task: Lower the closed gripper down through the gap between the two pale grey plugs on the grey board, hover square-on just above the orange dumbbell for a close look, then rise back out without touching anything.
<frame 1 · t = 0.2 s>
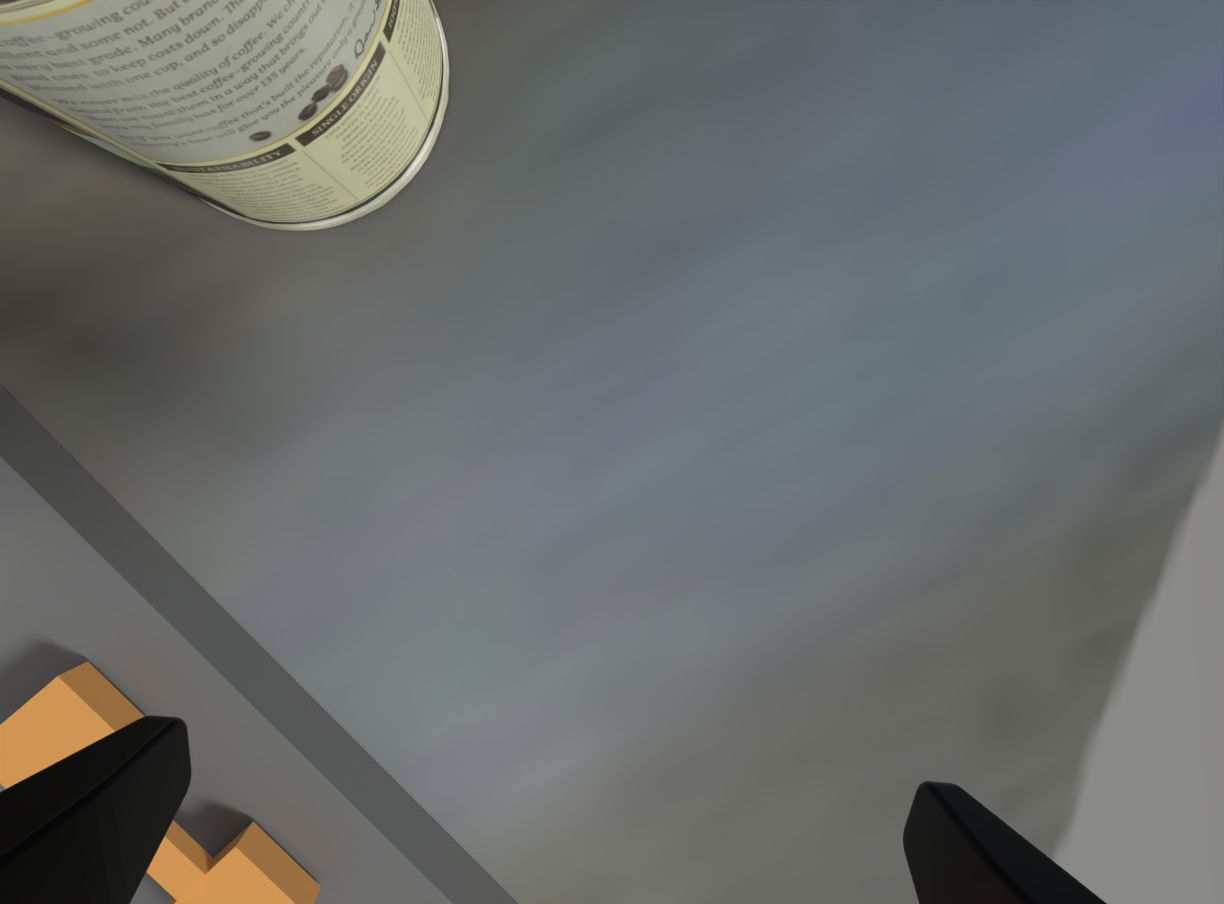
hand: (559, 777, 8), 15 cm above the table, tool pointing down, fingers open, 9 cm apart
orange dumbbell: (154, 825, 20), point 4 cm above the table, hinge at 8.0°
grey board: (216, 762, 24), on the table
coffee can: (295, 76, 22), on the table
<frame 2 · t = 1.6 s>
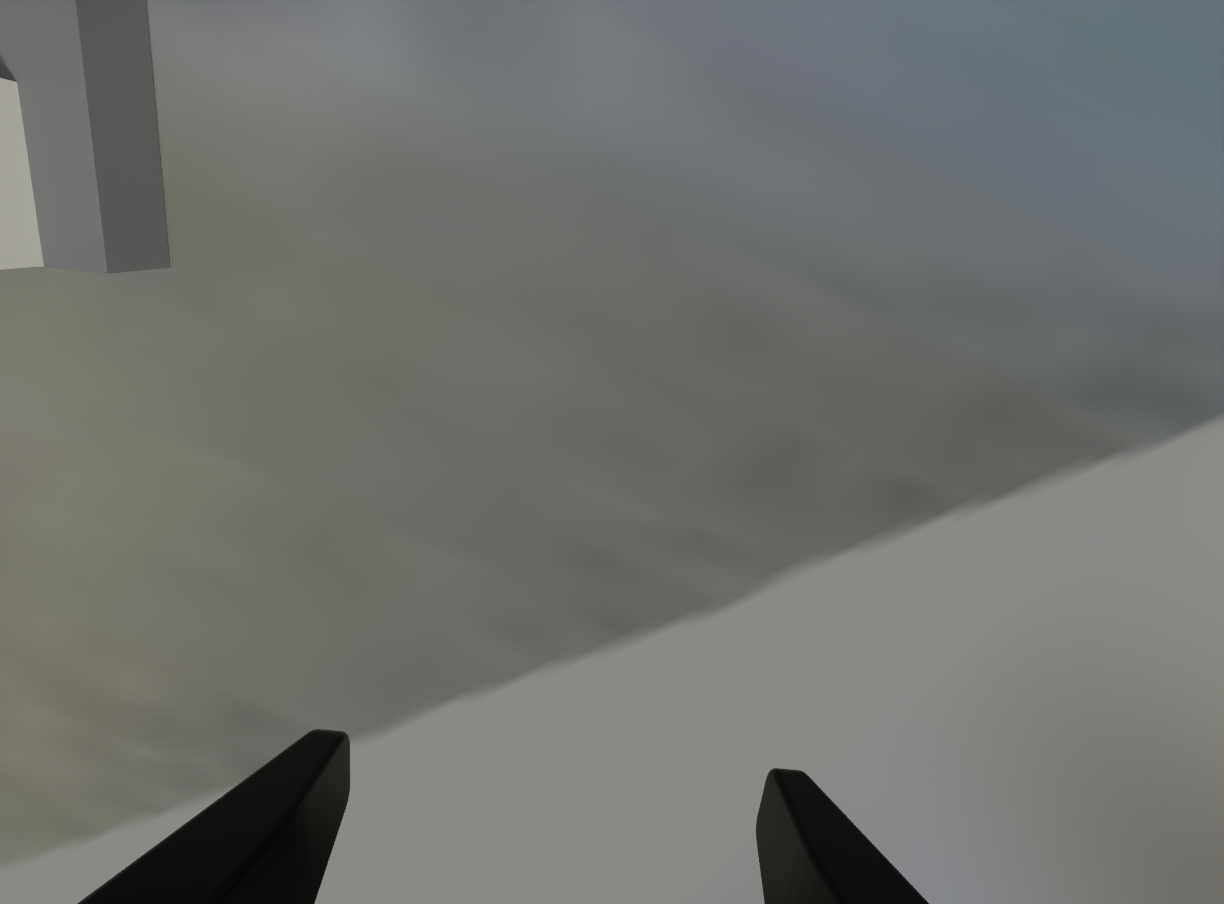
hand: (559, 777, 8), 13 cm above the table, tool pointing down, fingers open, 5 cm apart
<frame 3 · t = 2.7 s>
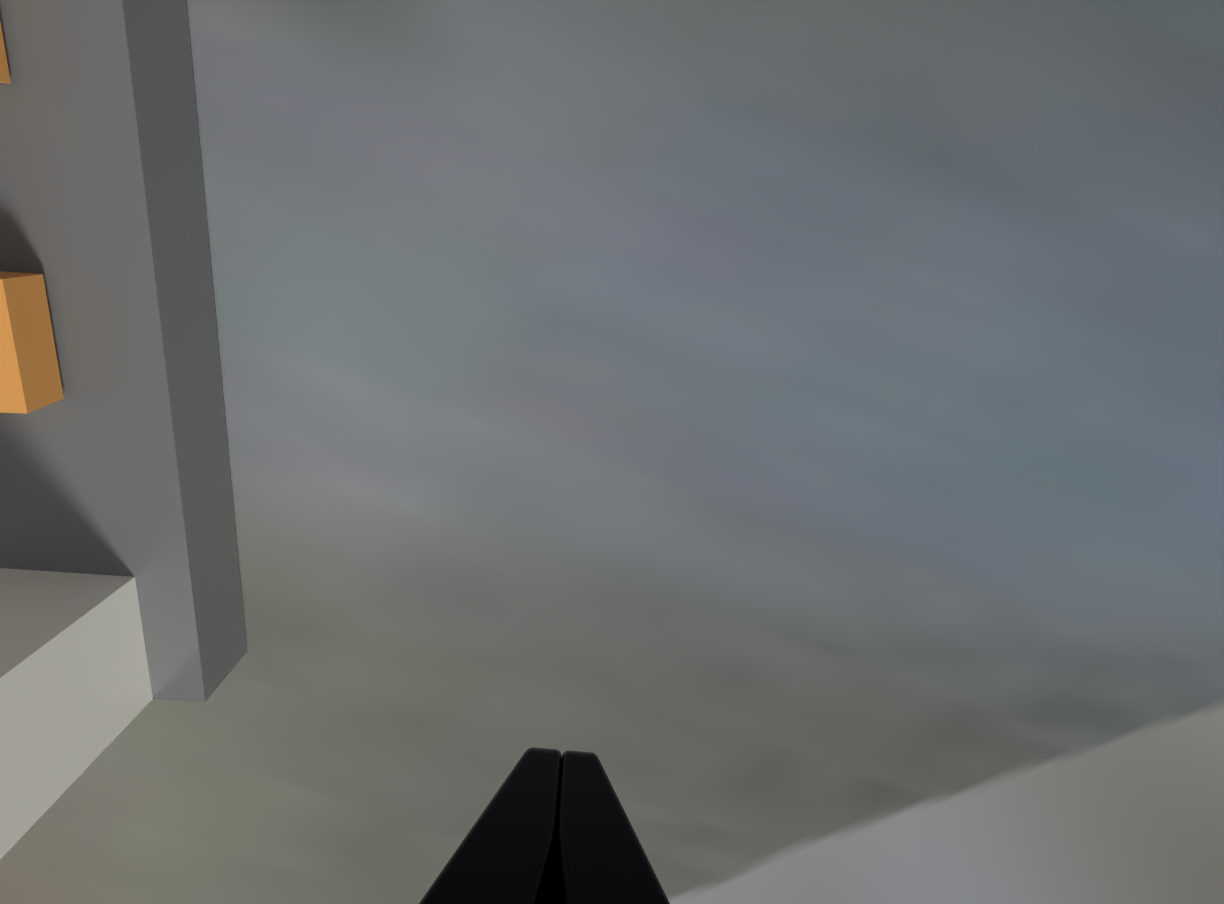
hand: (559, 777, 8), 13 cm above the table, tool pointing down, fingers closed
grey board: (48, 184, 18), on the table
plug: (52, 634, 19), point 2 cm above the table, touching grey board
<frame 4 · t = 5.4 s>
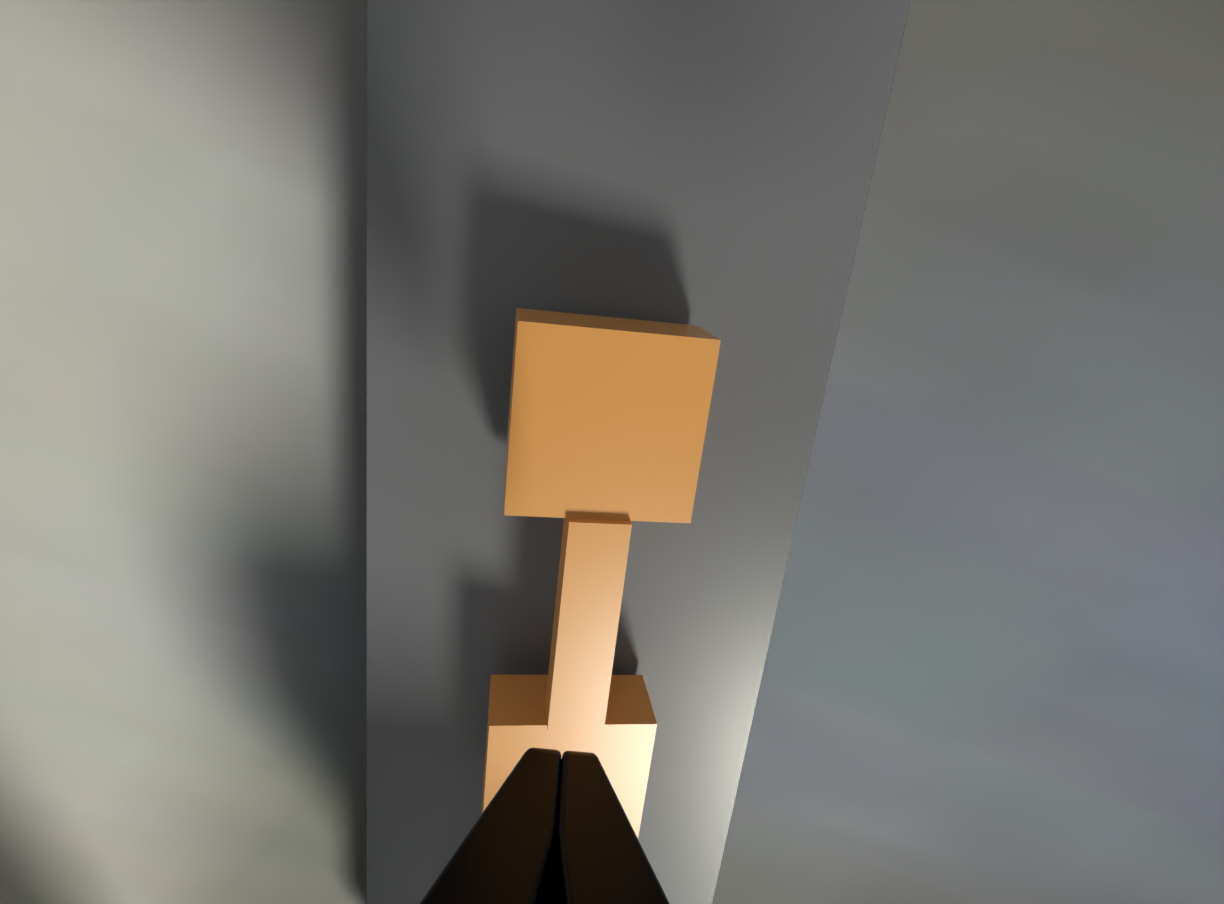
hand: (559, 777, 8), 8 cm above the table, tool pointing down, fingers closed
orange dumbbell: (582, 607, 12), point 4 cm above the table, hinge at 8.0°
grey board: (580, 520, 15), on the table
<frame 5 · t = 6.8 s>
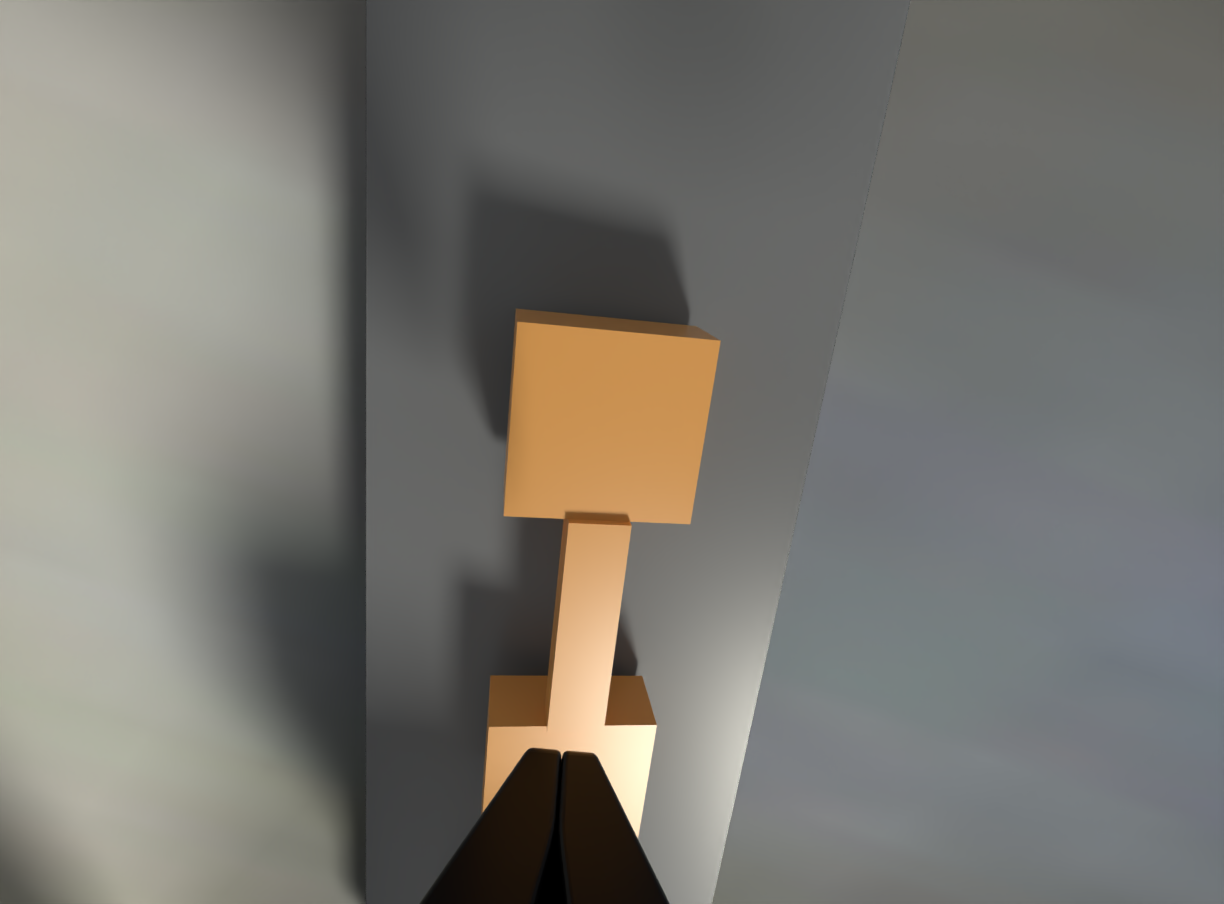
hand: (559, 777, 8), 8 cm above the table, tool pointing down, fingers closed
orange dumbbell: (582, 608, 12), point 4 cm above the table, hinge at 8.0°
grey board: (580, 521, 15), on the table
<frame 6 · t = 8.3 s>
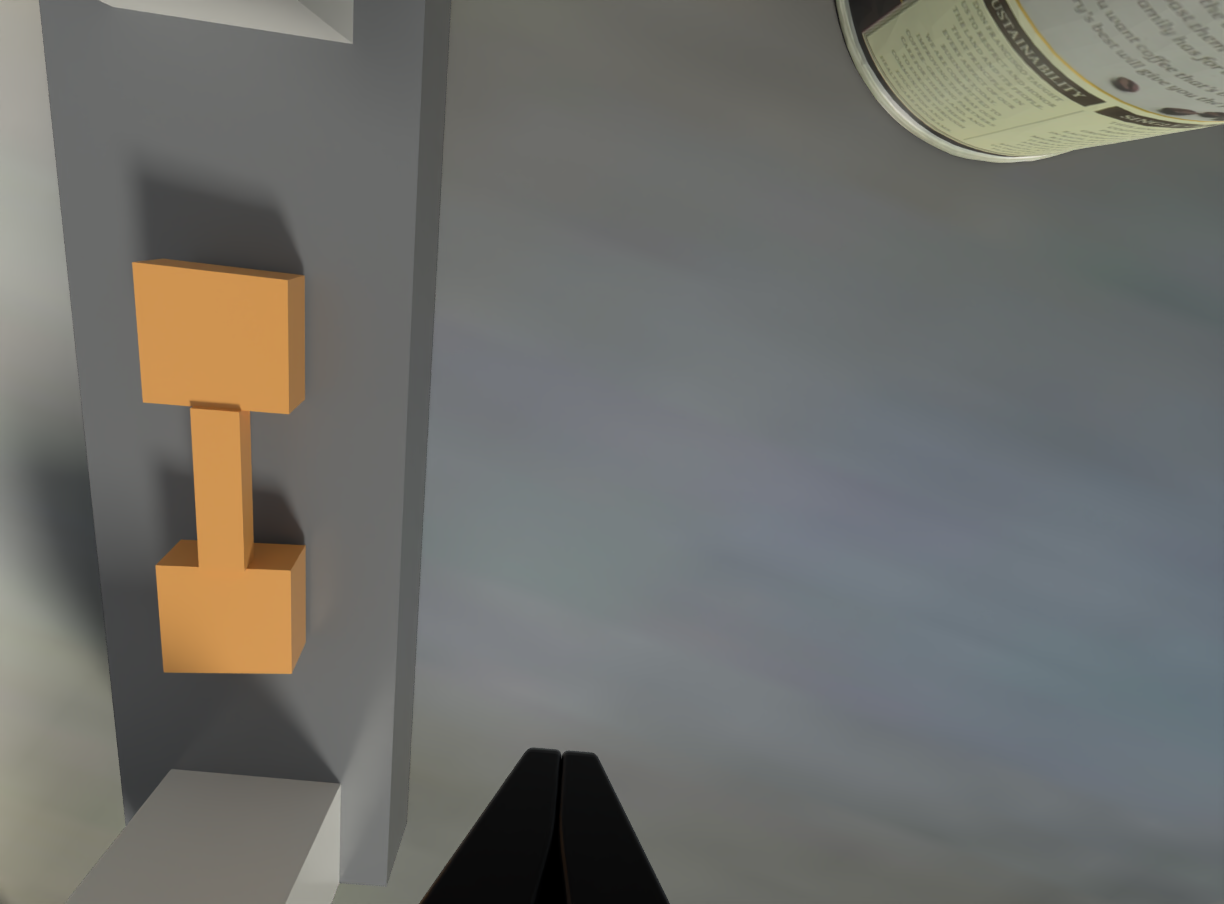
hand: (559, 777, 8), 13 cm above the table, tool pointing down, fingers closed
orange dumbbell: (230, 481, 16), point 4 cm above the table, hinge at 8.0°
grey board: (289, 437, 20), on the table
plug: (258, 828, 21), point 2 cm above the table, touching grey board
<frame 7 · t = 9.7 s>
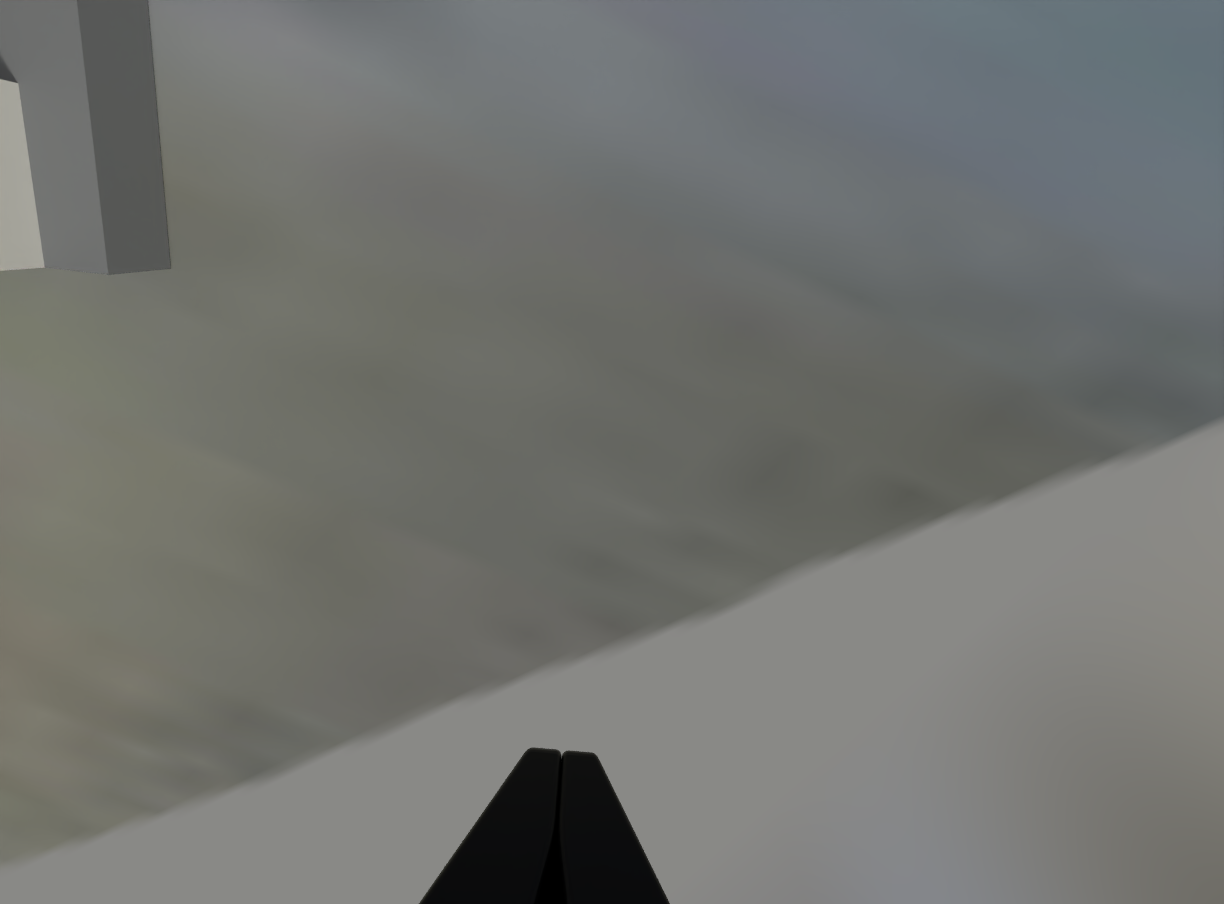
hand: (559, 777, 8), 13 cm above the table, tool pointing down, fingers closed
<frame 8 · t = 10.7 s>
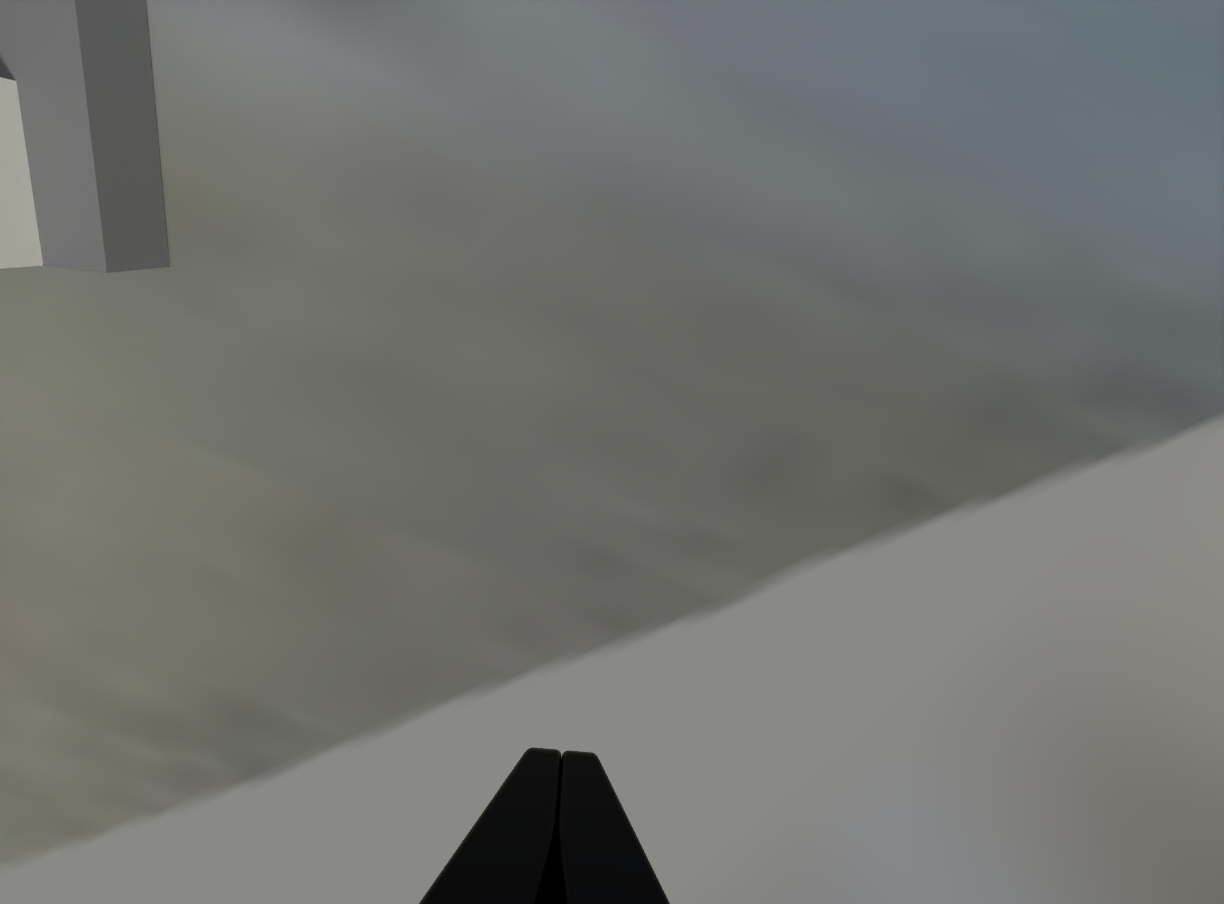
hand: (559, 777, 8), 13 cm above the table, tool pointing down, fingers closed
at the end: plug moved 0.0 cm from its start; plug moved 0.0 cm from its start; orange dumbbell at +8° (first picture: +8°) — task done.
